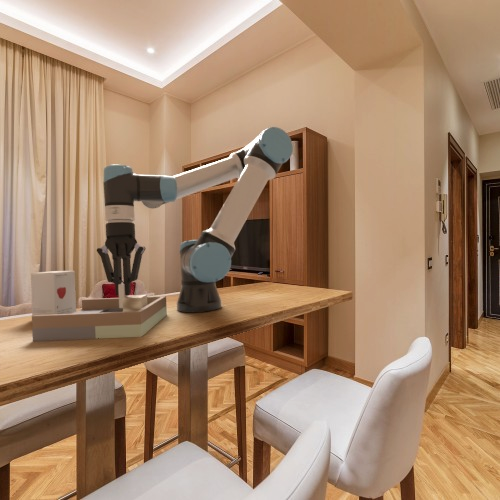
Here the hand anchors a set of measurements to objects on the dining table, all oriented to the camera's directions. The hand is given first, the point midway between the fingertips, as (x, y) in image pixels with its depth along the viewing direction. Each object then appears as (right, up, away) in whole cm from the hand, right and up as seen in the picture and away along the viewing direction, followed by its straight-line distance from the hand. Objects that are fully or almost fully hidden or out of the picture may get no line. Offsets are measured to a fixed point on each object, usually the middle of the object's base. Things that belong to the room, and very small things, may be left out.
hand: (123, 306), depth 87 cm
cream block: (+3, -2, 0) cm, 4 cm away
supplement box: (-28, -6, +15) cm, 32 cm away
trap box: (-4, -5, 0) cm, 7 cm away
